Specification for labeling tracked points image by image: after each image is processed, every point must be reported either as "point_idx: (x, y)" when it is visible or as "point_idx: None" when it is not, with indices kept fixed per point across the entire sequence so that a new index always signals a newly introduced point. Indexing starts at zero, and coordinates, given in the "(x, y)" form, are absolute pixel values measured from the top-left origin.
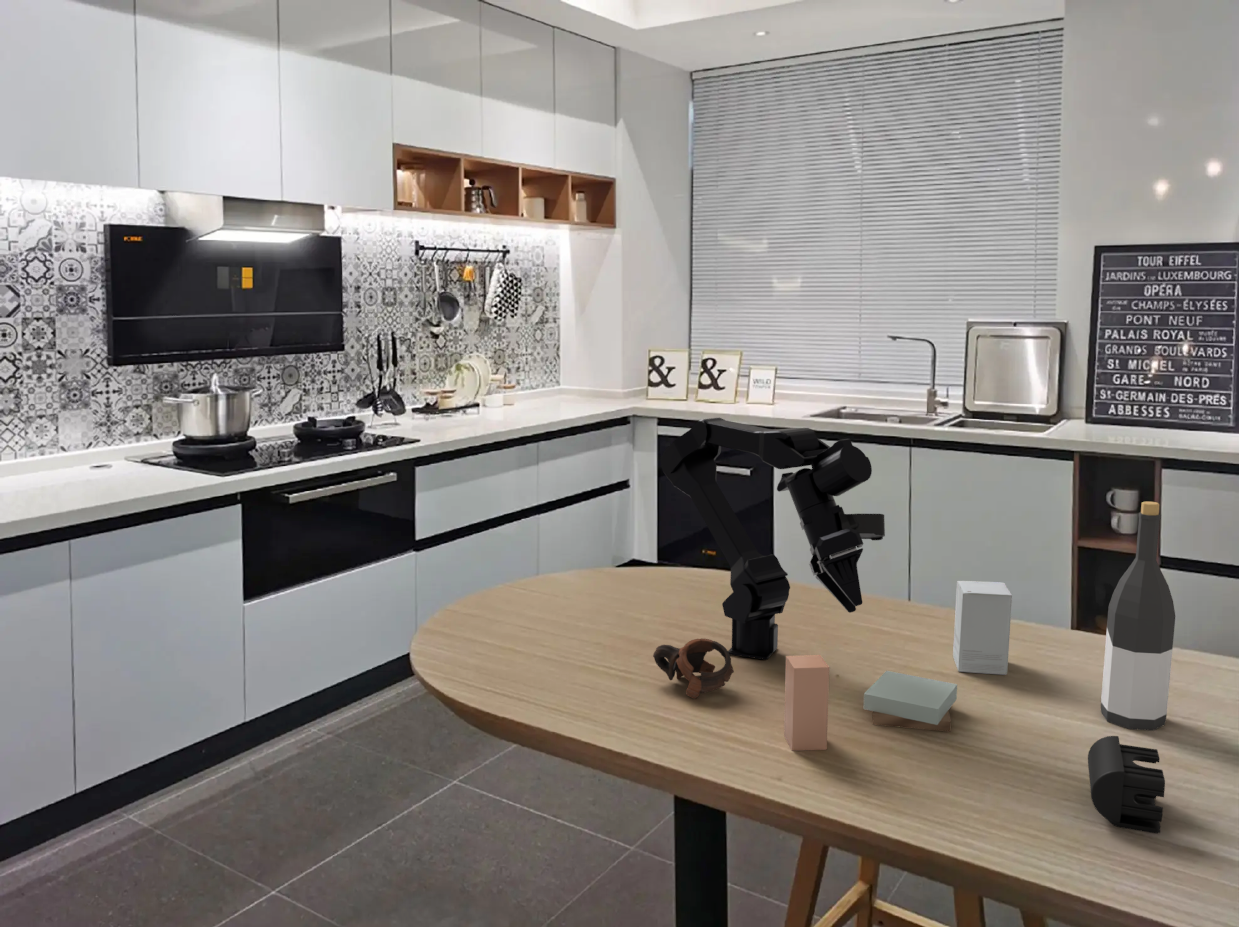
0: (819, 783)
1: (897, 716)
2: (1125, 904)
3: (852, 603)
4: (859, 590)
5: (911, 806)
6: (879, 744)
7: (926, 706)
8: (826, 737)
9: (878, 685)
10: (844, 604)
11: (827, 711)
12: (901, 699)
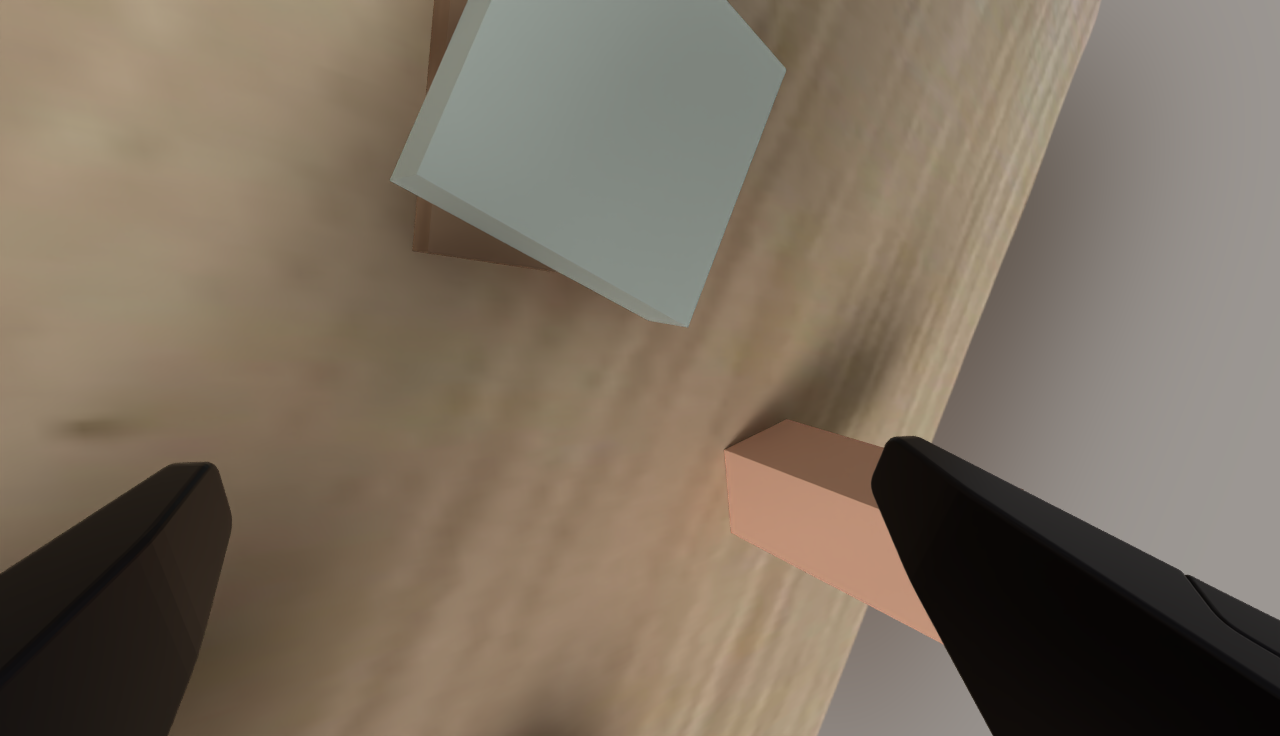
0: (884, 421)
1: None
2: (1088, 22)
3: (181, 539)
4: (1036, 506)
5: (942, 256)
6: (766, 283)
7: (770, 106)
8: (813, 428)
9: (611, 256)
10: (200, 633)
11: (879, 447)
12: (726, 187)
